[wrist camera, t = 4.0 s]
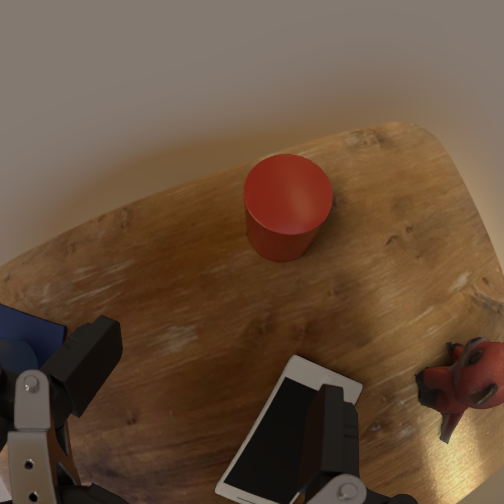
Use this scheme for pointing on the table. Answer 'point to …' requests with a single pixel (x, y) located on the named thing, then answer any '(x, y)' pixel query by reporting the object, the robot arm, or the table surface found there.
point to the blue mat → (32, 332)
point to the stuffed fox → (464, 382)
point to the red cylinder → (285, 206)
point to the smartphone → (279, 437)
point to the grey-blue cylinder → (17, 355)
